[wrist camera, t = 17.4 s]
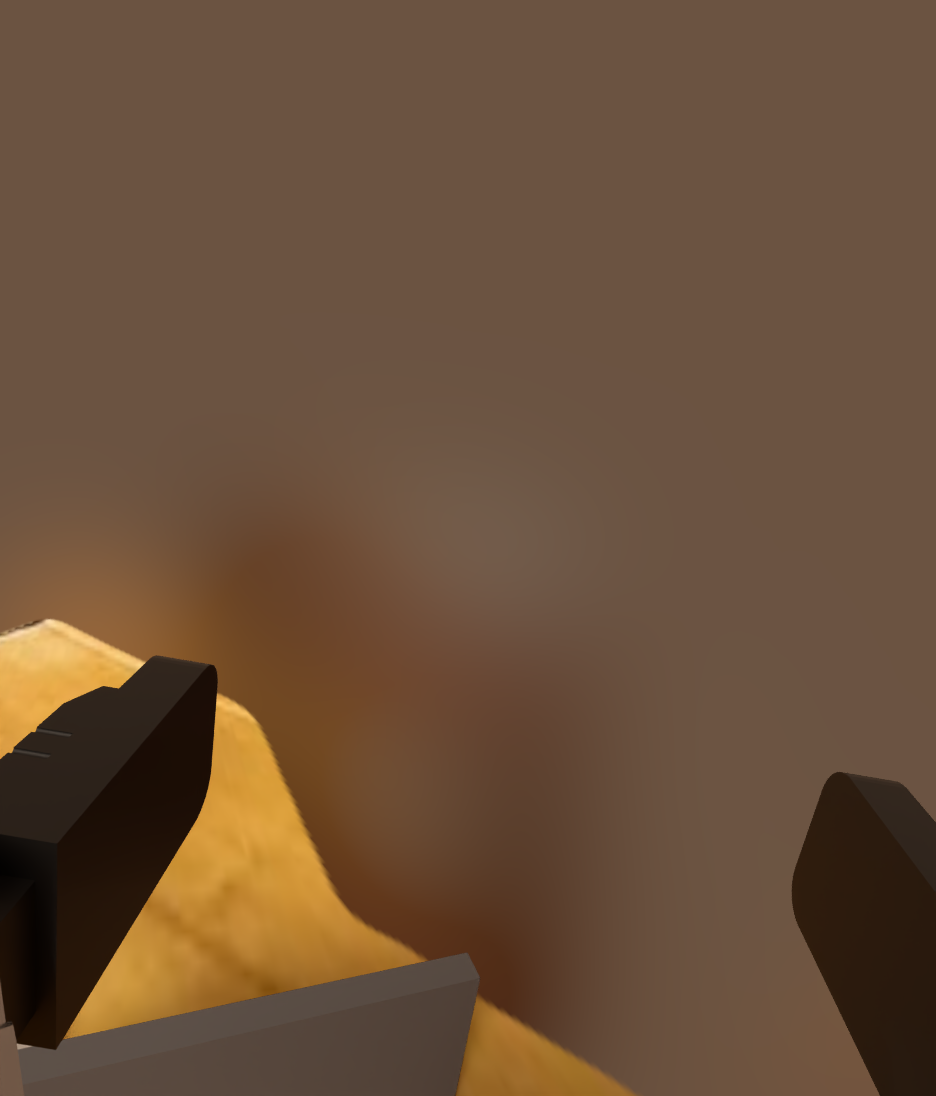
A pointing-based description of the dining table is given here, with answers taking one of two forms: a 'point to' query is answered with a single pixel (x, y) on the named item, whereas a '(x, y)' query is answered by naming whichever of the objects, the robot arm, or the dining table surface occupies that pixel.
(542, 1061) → the dining table surface
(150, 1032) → the screen
